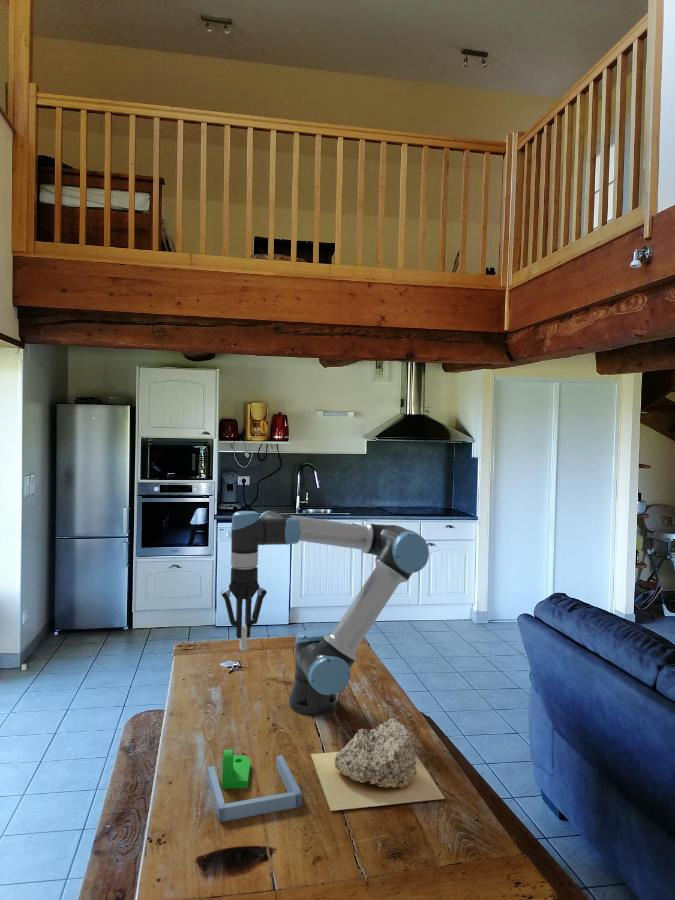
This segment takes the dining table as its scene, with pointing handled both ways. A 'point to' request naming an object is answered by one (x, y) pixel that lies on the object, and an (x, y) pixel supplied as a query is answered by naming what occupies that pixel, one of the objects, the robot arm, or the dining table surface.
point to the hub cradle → (257, 804)
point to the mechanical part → (235, 770)
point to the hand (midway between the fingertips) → (243, 648)
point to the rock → (375, 770)
